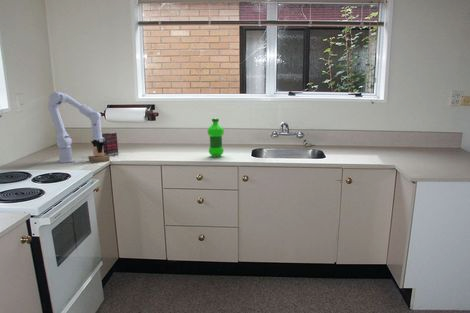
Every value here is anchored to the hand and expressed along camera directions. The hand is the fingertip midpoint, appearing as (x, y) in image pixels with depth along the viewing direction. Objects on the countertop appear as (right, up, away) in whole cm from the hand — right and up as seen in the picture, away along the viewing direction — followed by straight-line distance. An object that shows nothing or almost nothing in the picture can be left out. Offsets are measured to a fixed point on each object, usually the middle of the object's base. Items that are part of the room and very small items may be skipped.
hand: (98, 152), depth 248 cm
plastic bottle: (+75, -3, +10) cm, 76 cm away
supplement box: (+2, -3, +18) cm, 18 cm away
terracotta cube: (0, -2, 0) cm, 2 cm away
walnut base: (0, -6, +1) cm, 6 cm away
